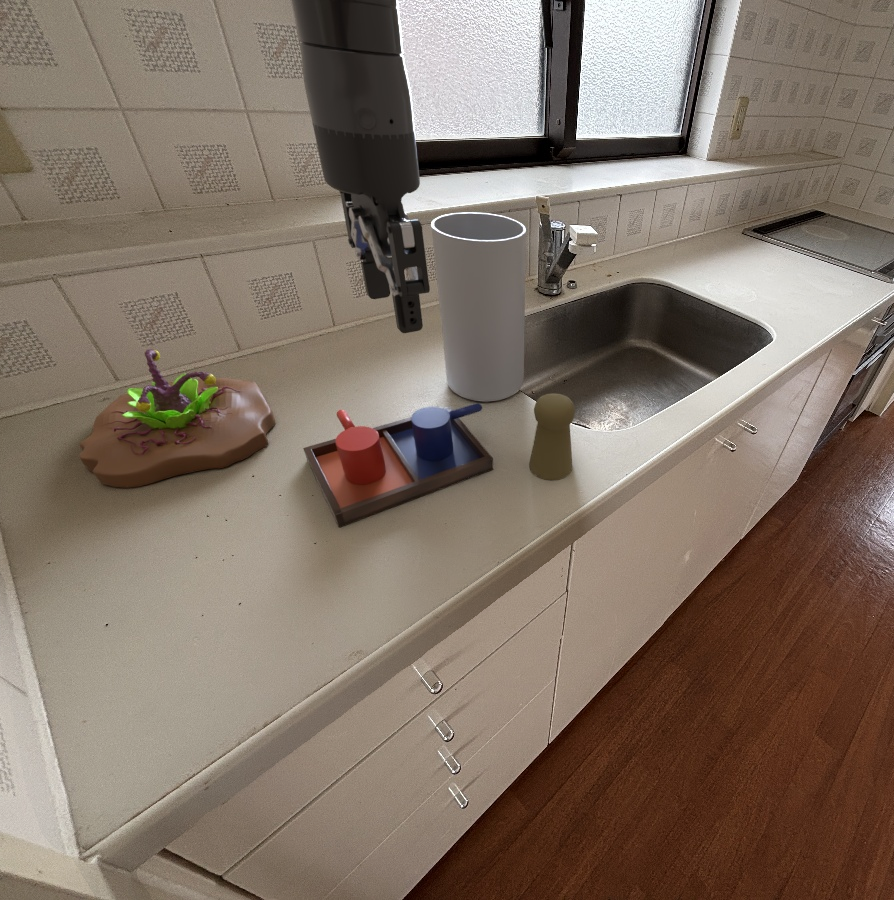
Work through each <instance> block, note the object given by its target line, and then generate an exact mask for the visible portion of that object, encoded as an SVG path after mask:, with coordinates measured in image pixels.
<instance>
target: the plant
mask: <svg viewBox="0 0 894 900" xmlns="http://www.w3.org/2000/svg"><path fill="white" fill-rule="evenodd" d="M144 357H145V359H146V365H147V366H148V372H149V373H150V375H151V378H152V382H151V384H148V385H146V386H143V388H138V387H136V388H130V387H129V388H128V389H127V390H126V393H124V394H120V395H119V396H118V397H117V398H116V399H115V400H113V401H112V402H110V403H109V404H108V405H107V406H106V407H105V408H104V409H103V410H102V411H101V412H100V413H98V414H97V415H96V417H95V419H94V422H93V426H92V432H91V433H90V435H89V436H88V437H87V438H85V439H83V440H82V441H81V442H79V443H78V446H79V447H80V449H81V450H82V451H81V452H80V453H79V456H78V458H79V459H80V461H81V462H82V464H83V465H84V466H85V468H86V469H87V470H88V471H89V472H91V473H93V474H94V476H95V477H96V478H97V480H98V481H99V482H100V483H101V484H102V485H105V486H110V487H114V488H124V489H125V488H138V487H141V486H146V485H150V484H154V483H157V482H159V481H162V480H167V479H169V478H172V477H175V476H180V475H186V474H190V473H194V472H195V473H197V472H200V471H206V470H212V469H224V468H228V467H229V466H230V465H233V464H234V463H238V462H240V461H242V460H245V459H248V458H249V457H251V456H252V455H254V454H255V453H256V452H258V451H259V450H262V449H263V448H266V447H268V446H269V445H270V442H269V440H268V437H267V433H268V432H269V431H270V430H271V429H273V428H274V427H275V425H276V418H275V416H274V413H273V411H272V409H271V407H270V405H269V403H268V401H267V400H266V398H265V396H264V394H263V393H262V390H261V388H260V387H259V386H258V384H257V383H256V382H255V381H253V380H244V379H235V378H229V377H215V375H213V374H212V373H210V372H207V371H194V372H190V373H189V372H187V373H182V374H180V375H178V377H177V378H176V379H174V381H171V382H168V380H167V379H165V378H164V375H163V374H161V371H160V369H158V365H157V364H156V363H155V362H157V361H159V360H160V359H161V354H160V352H159V351H158V350H156V349H155V348H149V349H146V350H145V352H144ZM193 378H194V379H193ZM196 378H198V379H196Z"/></svg>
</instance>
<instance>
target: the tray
mask: <svg viewBox="0 0 894 900" xmlns="http://www.w3.org/2000/svg"><path fill="white" fill-rule="evenodd" d="M442 408H443V409H445V410H446V411H448V412H449V411H452V410H453V409H452V408H451V407H450V406H445V407H442ZM411 417H412V416H410V417H406V418H403V419H399V420H395V421H392V422H389V423H386V424H382V425H378V426H375V427H372V428H373V429H375V430H376V431H377V432H378V434H379V438H380V442H381V447H382V452H383V456H384V461H385V465H386V472H385V474H384V476H383V477H382V478H381V479H379V480H378V481H376V482H373V483H370V484H366V485H357V484H353V483H351V482H349V481H348V480H347V479H346V477H345V474H344V471H343V467H342V464H341V460H340V457H339V454H338V450H337V447H336V443H335V440H336V438H333V439H330V440H326V441H323V442H319V443H315V444H312V445H309V446H305V447H303V451H304V454H305V457H306V460H307V462H308V464H309V467H310V469H311V471H312V473H313V475H314V477H315V479H316V482H317V483H318V486H319V488H320V490H321V492H322V494H323V496H324V499H325V501H326V504H327V505H328V507H329V509H330V511H331V514H332V516H333V518H334V520H335V522H336V525H337V527H338V528H341V527H344V526H347V525H349V524H352V523H355V522H358V521H360V520H363V519H365V518H368V517H370V516H373V515H376V514H378V513H381V512H385V511H387V510H390V509H393V508H395V507H397V506H400V505H403V504H405V503H408V502H410V501H414V500H416V499H419V498H422V497H424V496H426V495H429V494H432V493H435V492H437V491H440V490H443V489H445V488H448V487H451V486H454V485H456V484H459V483H462V482H463V481H466V480H469V479H473V478H475V477H477V476H480V475H483V474H485V473H488V472H491V471H493V470H494V458H493V456H492V455H491V454H490V453H489V452H488V451H487V450H486V448H485V447H484V446H483V444H482V443H481V442H480V441H479V440H478V439H477V437H476V436H475V435H474V434H473V432H471V431H470V429H468V427H467V426H466V424H464V422H463V421H462V419H461V418H457V419H454V420H450V421H451V431H452V441H453V451H452V453H451V454H450V455H449V456H448V457H447V458H445V459H442V460H438V461H427V460H424V459H422V458H420V457H419V456H418V455H417V452H416V446H415V440H414V434H413V428H412V422H411Z"/></svg>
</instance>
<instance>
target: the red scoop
mask: <svg viewBox="0 0 894 900" xmlns="http://www.w3.org/2000/svg"><path fill="white" fill-rule="evenodd" d="M336 417H337V419H338V420H339V422H340V425H342V428H343V429H344V430H343V431H341V432H339V433H338V435H337V436H336V438H335V439H336V440H335V443H336V447H337V450H338V454H339V457H340V460H341V464H342V467H343V471H344V474H345V477H346V479H347V480H348V481H349V482H351V483H353V484H357V485H366V484H370V483H373V482H376V481H378V480H379V479H381V478H382V477H383V476H384V474H385V472H386V465H385V461H384V456H383V452H382V447H381V442H380V438H379V434H378V432H377V431H376V430H375V429H373V428H374V427H370V426H365V425H364V426H363V425H359V426H355V424H354V422H353V421H352V418H351V417H350V416H349V414H348V413H347V411H346V410H345V409H339V410H337V412H336Z"/></svg>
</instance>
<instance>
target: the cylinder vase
mask: <svg viewBox="0 0 894 900" xmlns="http://www.w3.org/2000/svg"><path fill="white" fill-rule="evenodd" d="M430 227H431V237H432V245H433V256H434V266H435V275H436V276H435V277H436V286H437V295H438V305H439V306H438V307H439V317H440V324H441V325H440V326H441V335H442V345H443V355H444V364H445V375H446V382H447V385H448V387H449V388H450V390H451V391H452V392H453V393H455V394H456V395H458V396H459V397H461V398H464V399H467V400H471V401H475V402H495V401H502V400H505V399H507V398H509V397H512V396H513V395H515V394H517V393H518V392H519V391H520V390H521V389H522V387H523V385H524V380H525V328H526V327H525V324H526V323H525V321H526V263H527V262H526V259H527V258H526V255H527V254H526V253H527V252H526V250H527V249H526V248H527V228H526V225H524V224H523V223H521V222H520V221H518V220H516V219H513V218H511V217H508V216H505V215H499V214H494V213H486V212H475V211H474V212H472V211H471V212H454V213H453V212H452V213H448V214H443V215H440V216H437V217H435V218H434V219H432V221H431V224H430Z"/></svg>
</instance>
